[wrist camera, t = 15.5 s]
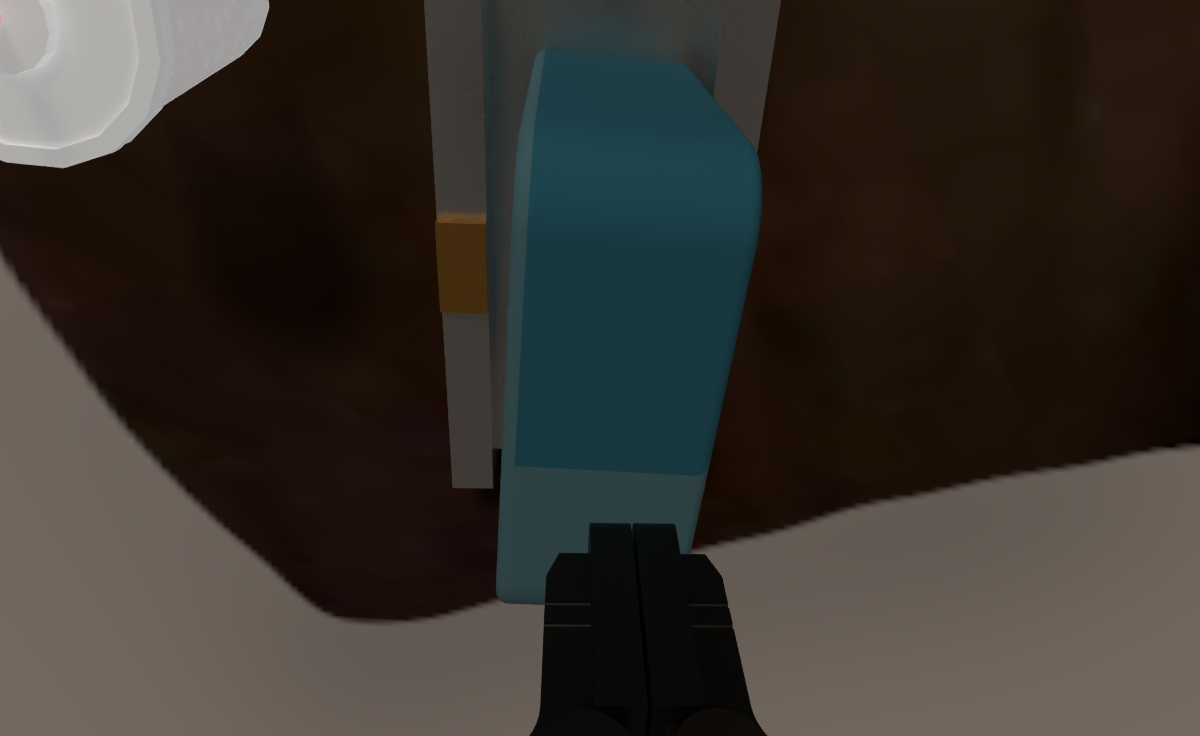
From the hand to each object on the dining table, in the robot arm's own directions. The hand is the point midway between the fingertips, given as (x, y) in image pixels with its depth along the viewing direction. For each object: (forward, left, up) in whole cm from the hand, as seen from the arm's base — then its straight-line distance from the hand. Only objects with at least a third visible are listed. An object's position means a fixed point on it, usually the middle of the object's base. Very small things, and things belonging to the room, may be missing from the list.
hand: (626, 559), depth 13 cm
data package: (0, 0, -15) cm, 15 cm away
